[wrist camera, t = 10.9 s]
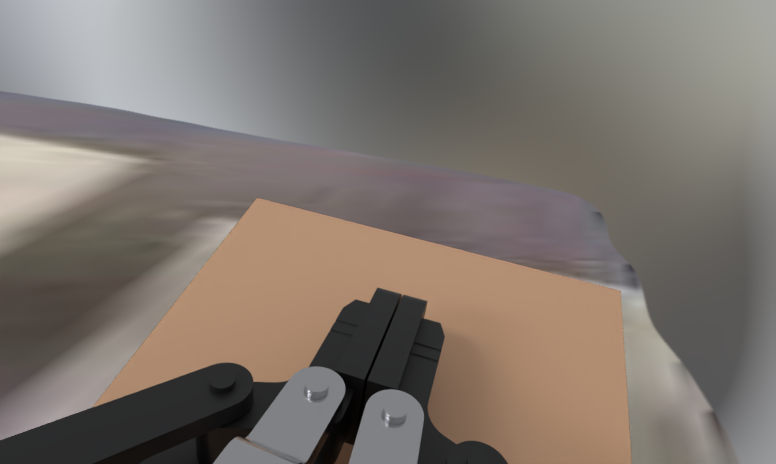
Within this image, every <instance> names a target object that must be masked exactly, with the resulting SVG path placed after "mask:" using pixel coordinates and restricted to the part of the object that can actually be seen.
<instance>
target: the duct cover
mask: <svg viewBox="0 0 776 464" xmlns="http://www.w3.org/2000/svg"><path fill="white" fill-rule="evenodd" d="M377 288H382V289H385V290H389V291H393V292H396V293H400V294H402V296H403V295H408V296H411V297H415V298H418V299H422V300H426V301H428V302H427V307H426V312H425V316H424V319H428V320H432V321H435V322H439V323H441V326H442V329H443V332H444V335H445V338H444V342H443V346H442V350H441V354H440V358H439V362H438V366H437V370H436V374H435V378H434V382H433V386H432V390H431V394H430V398H429V402H428V414H429V417H430V420H431V422H432V423H433V425H434V426H435V428H436V429H437V430H438V431H439V432H440V433H441V434H443V435H444V436H445V437H447V438H448V439H450V440H451V441H453V442H454V443H456V444H458V443H461V442H464V441H479V442H483V443H485V444H488V445H490V446H491V447H493V448H494V449H496V450H497V451H498V452H499V453H500V454H501V455H502V456H503V457H504V458H505V460H506V461H507V463H508V464H632V459H631V443H630V428H629V413H628V398H627V382H626V367H625V352H624V337H623V321H622V306H621V291H619V290H615V289H611V288H607V287H603V286H600V285H596V284H592V283H588V282H584V281H580V280H576V279H572V278H568V277H564V276H561V275H557V274H553V273H549V272H545V271H541V270H537V269H533V268H529V267H525V266H521V265H518V264H514V263H510V262H506V261H502V260H498V259H494V258H490V257H486V256H482V255H478V254H475V253H471V252H467V251H463V250H459V249H455V248H451V247H447V246H443V245H439V244H435V243H432V242H428V241H424V240H420V239H416V238H412V237H408V236H404V235H400V234H396V233H393V232H389V231H385V230H381V229H377V228H373V227H369V226H365V225H361V224H357V223H353V222H350V221H346V220H342V219H338V218H334V217H330V216H326V215H322V214H318V213H314V212H310V211H307V210H303V209H299V208H295V207H291V206H287V205H283V204H279V203H275V202H271V201H267V200H264V199H260V198H257V199H256V200H255V201H254V203H253V204H252V205H251V206H250V208H249V209H248V210H247V211H246V213H245V214H244V215H243V217H242V218H241V219H240V220H239V222H238V223H237V224H236V225H235V227H234V228H233V229H232V230H231V232H230V233H229V234H228V236H227V237H226V238H225V239H224V241H223V242H222V243H221V244H220V246H219V247H218V248H217V250H216V251H215V252H214V253H213V255H212V256H211V257H210V258H209V260H208V261H207V262H206V264H205V265H204V266H203V267H202V269H201V270H200V271H199V272H198V274H197V275H196V276H195V278H194V279H193V280H192V281H191V283H190V284H189V285H188V286H187V288H186V289H185V290H184V292H183V293H182V294H181V295H180V297H179V298H178V299H177V300H176V302H175V303H174V304H173V305H172V307H171V308H170V309H169V311H168V312H167V313H166V314H165V316H164V317H163V318H162V319H161V321H160V322H159V323H158V325H157V326H156V327H155V328H154V330H153V331H152V332H151V333H150V335H149V336H148V337H147V339H146V340H145V341H144V342H143V344H142V345H141V346H140V347H139V349H138V350H137V351H136V353H135V354H134V355H133V356H132V358H131V359H130V360H129V361H128V363H127V364H126V365H125V367H124V368H123V369H122V370H121V372H120V373H119V374H118V375H117V377H116V378H115V379H114V381H113V382H112V383H111V384H110V386H109V387H108V388H107V389H106V391H105V392H104V393H103V394H102V396H101V397H100V398H99V400H98V401H97V402H96V403H95V405H94V406H93V407H96V406H98V405H101V404H104V403H107V402H110V401H112V400H115V399H118V398H121V397H124V396H126V395H129V394H132V393H135V392H138V391H140V390H143V389H146V388H149V387H152V386H154V385H157V384H160V383H163V382H166V381H168V380H171V379H174V378H177V377H180V376H182V375H185V374H188V373H191V372H194V371H197V370H199V369H202V368H205V367H208V366H211V365H214V364H217V363H226V362H228V363H235V364H239V365H242V366H243V367H245V368H246V369H248V370H249V372H250V373H251V374H252V377H253V382H284V381H288V380H289V379H290V378H291V377H292V376H293V375H294V374H295V373H296V372H298V371H299V370H301V369H304V368H308V367H309V365H310V364H311V362H312V360H313V358H314V357H315V355H316V353H317V352H318V350H319V348H320V346H321V345H322V343H323V341H324V340H325V338H326V336H327V334H328V333H329V332H330V329H331V327H332V326H333V324H334V322H336V319H337V317H338V315H339V314H340V312H341V310H342V308H343V307H345V306H346V305H348V304H349V303H351V302H352V301H354V300H355V299H356V300H360V301H364V302H367V303H370V301H371V299H372V297H373V295H374V293H375V291H376V289H377ZM93 407H92V408H93ZM353 447H354V445H350V444H347V443H344V444H343V447H342V449H341V451H340V454H339V456H338V458H337V460H336V463H335V464H349V461H350V457H351V454H352V451H353Z"/></svg>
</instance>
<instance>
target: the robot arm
mask: <svg viewBox="0 0 776 464" xmlns="http://www.w3.org/2000/svg"><path fill="white" fill-rule="evenodd" d="M427 302H428V301H426V300H422V299H418V298H415V297H411V296H408V295H403V296H402V294H400V293H396V292H393V291H389V290H385V289H382V288H377V289H376V291H375V293H374V295H373V297H372V299H371V301H370V303H367V302H364V301H360V300H356V299H355V300H354V301H352V302H351V303H349V304H348V305H346V306H345V307H343V308H342V310H341V312H340V314H339V315H338V317H337V319H336V322H334V324H333V326H332V327H331V329H330V332H329V333H328V334H327V336H326V338H325V340H324V341H323V343H322V345H321V346H320V348H319V350H318V352H317V353H316V355H315V357H314V358H313V360H312V362H311V364H310V365H309V367H308V368H304V369H301V370H299V371H298V372H296V373H295V374H294V375H293V376H292V377H291V378H290V379H289V380H288V381H284V382H253V377H252V374H251V373H250V372H249V370H248V369H246V368H245V367H243V366H242V365H239V364H235V363H228V362H226V363H217V364H214V365H211V366H208V367H205V368H202V369H199V370H197V371H194V372H191V373H188V374H185V375H182V376H180V377H177V378H174V379H171V380H168V381H166V382H163V383H160V384H157V385H154V386H152V387H149V388H146V389H143V390H140V391H138V392H135V393H132V394H129V395H126V396H124V397H121V398H118V399H115V400H112V401H110V402H107V403H104V404H101V405H98V406H96V407H93V408H90V409H87V410H84V411H82V412H79V413H76V414H73V415H70V416H68V417H65V418H62V419H59V420H56V421H54V422H51V423H48V424H45V425H42V426H40V427H37V428H34V429H31V430H28V431H26V432H23V433H20V434H17V435H14V436H11V437H9V438H6V439H3V440H0V464H335V463H336V460H337V458H338V456H339V454H340V451H341V449H342V447H343V444H344V443H347V444H350V445H354V447H353V451H352V454H351V457H350V461H349V464H508V463H507V461H506V460H505V458H504V457H503V456H502V455H501V454H500V453H499V452H498V451H497V450H496V449H494V448H493V447H491V446H490V445H488V444H485V443H483V442H479V441H464V442H461V443H458V444H456V443H454V442H453V441H451V440H450V439H448V438H447V437H445V436H444V435H443V434H441V433H440V432H439V431H438V430H437V429H436V428H435V426H434V425H433V423H432V422H431V420H430V417H429V414H428V402H429V398H430V394H431V390H432V386H433V382H434V378H435V374H436V370H437V366H438V362H439V358H440V354H441V350H442V346H443V342H444V338H445V335H444V332H443V329H442V326H441V323H439V322H435V321H432V320H428V319H424V316H425V312H426V307H427Z"/></svg>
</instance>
